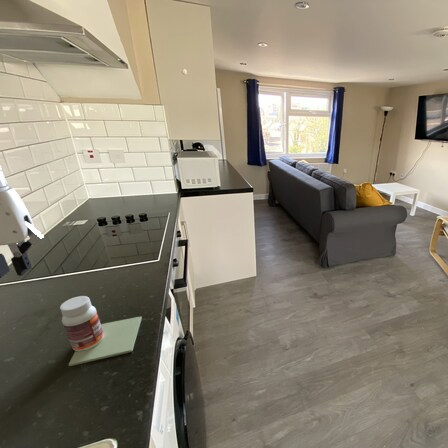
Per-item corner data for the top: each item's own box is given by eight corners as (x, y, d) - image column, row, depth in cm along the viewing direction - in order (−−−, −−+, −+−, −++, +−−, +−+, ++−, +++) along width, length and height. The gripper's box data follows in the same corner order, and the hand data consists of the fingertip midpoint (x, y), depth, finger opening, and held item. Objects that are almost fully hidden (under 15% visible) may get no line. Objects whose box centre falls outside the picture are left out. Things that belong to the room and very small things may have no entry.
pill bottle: (104, 344, 62) (92, 304, 58) (71, 356, 58) (55, 315, 54) (104, 328, 66) (92, 291, 62) (73, 339, 63) (58, 300, 59)
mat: (69, 366, 57) (68, 364, 56) (88, 328, 67) (88, 326, 67) (132, 351, 61) (131, 349, 60) (141, 318, 71) (141, 316, 71)
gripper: (-114, 191, 40) (-58, 291, 47) (22, 184, 45) (55, 276, 52) (-71, 181, 47) (-27, 271, 53) (44, 177, 52) (71, 259, 58)
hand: (13, 272), depth 52 cm, fingers closed
